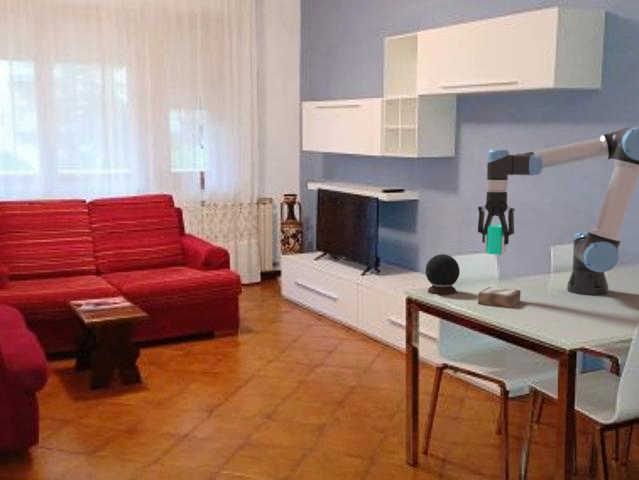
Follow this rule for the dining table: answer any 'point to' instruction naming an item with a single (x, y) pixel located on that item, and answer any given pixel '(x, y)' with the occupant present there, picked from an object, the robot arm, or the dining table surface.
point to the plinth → (499, 297)
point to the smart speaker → (442, 274)
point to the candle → (494, 239)
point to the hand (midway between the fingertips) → (495, 252)
